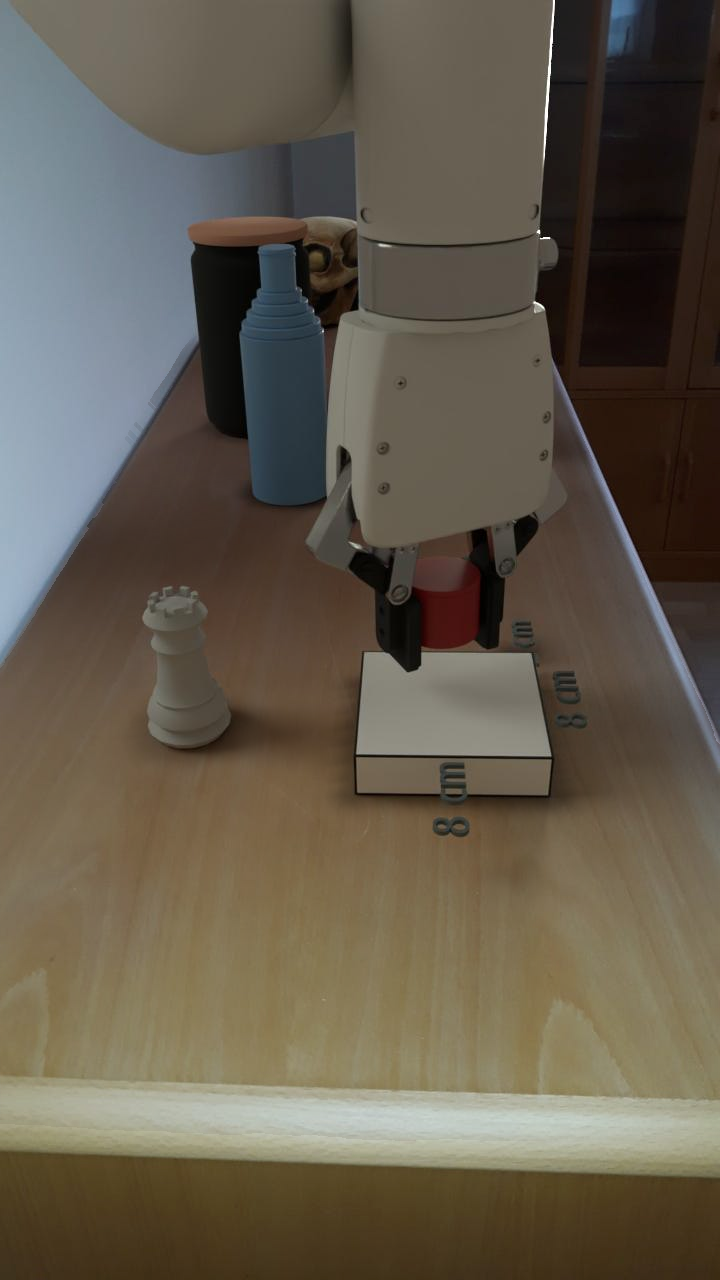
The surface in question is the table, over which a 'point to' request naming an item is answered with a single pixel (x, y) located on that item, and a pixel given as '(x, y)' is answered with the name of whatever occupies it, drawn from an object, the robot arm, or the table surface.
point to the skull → (332, 266)
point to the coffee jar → (234, 302)
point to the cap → (447, 601)
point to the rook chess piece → (183, 673)
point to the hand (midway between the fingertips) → (439, 644)
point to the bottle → (284, 386)
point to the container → (457, 726)
